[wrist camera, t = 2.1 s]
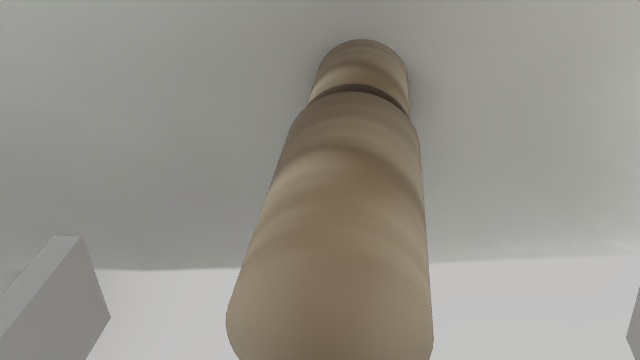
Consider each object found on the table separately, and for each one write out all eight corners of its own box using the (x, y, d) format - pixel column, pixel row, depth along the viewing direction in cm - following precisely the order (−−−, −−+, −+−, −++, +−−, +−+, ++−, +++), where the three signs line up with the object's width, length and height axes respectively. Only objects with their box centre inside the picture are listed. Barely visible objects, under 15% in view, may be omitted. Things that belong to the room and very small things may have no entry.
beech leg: (313, 132, 26) (241, 400, 14) (304, 34, 23) (209, 253, 11) (414, 130, 25) (431, 409, 13) (415, 29, 23) (437, 255, 11)
